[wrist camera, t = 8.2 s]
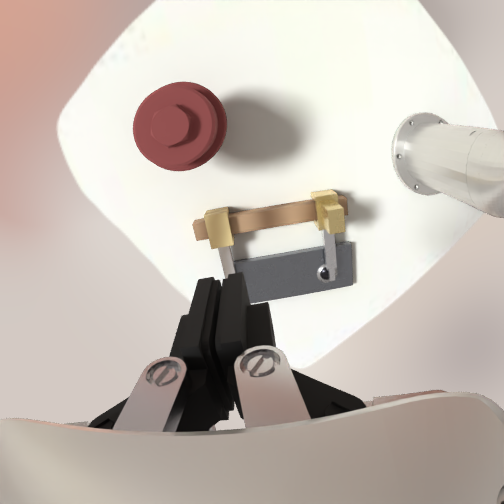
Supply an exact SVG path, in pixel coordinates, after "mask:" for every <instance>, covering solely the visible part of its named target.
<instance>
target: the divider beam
mask: <svg viewBox="0 0 504 504" xmlns="http://www.w3.org/2000/svg"><path fill="white" fill-rule="evenodd" d="M338 203H339V205H341V206H342V207H343V208H344V216H345V215H348V209H347V198H346V197H344V196H343V195H338ZM314 220H317V216H316V208H315V201H314V200H313V199H312V200H305V201H299V202H293V203H287V204H281V205H275V206H269V207H263V208H257V209H251V210H246V211H240V212H235V213H229V209H228V207H223V208H218V209H213V210H208V211H206V213H205V215H204V218H203V219H198V220H195V221H194V222H193V224H192V225H193V229H194V233H195V237H196V240H197V241H199V240H204V239H209V241H210V245H211V249H215V248H218V250H219V254H220V258H221V262H222V266H223V270H224V275H225V279H227V278H228V274H233V273H236V271H235V267H234V262H233V258H232V253H231V249H230V246H232V245H234V234H237V233H243V232H249V231H255V230H260V229H266V228H272V227H278V226H284V225H290V224H296V223H302V222H308V221H314Z"/></svg>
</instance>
